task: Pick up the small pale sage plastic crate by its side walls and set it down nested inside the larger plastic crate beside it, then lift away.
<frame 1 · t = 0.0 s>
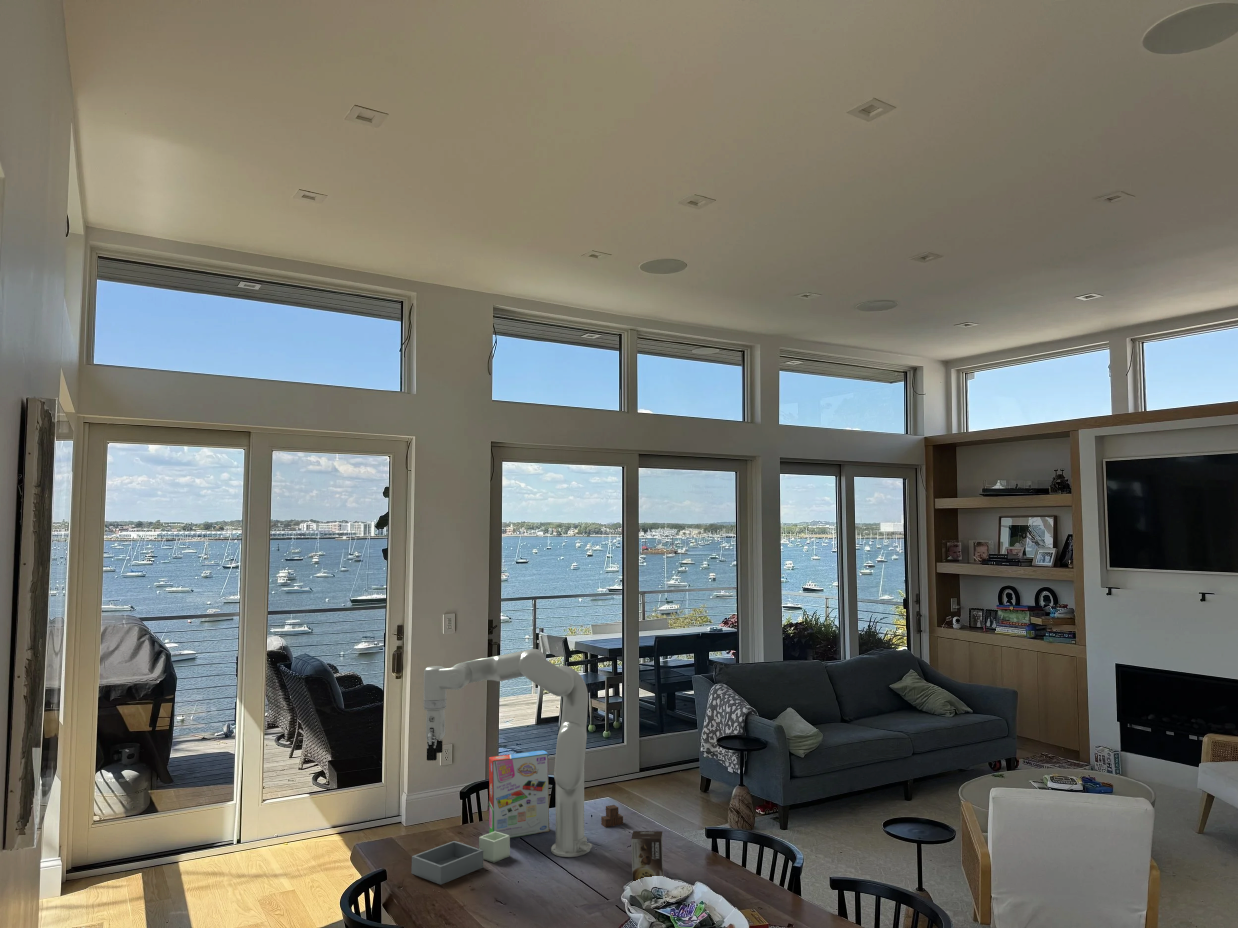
hand: (434, 756, 280), 31 cm above the table, tool pointing down, fingers open, 9 cm apart
big crate: (447, 871, 263), on the table
small crate: (494, 856, 274), on the table
coffee box: (648, 891, 246), on the table
stack of crates: (614, 827, 302), on the table
game box: (519, 834, 295), on the table
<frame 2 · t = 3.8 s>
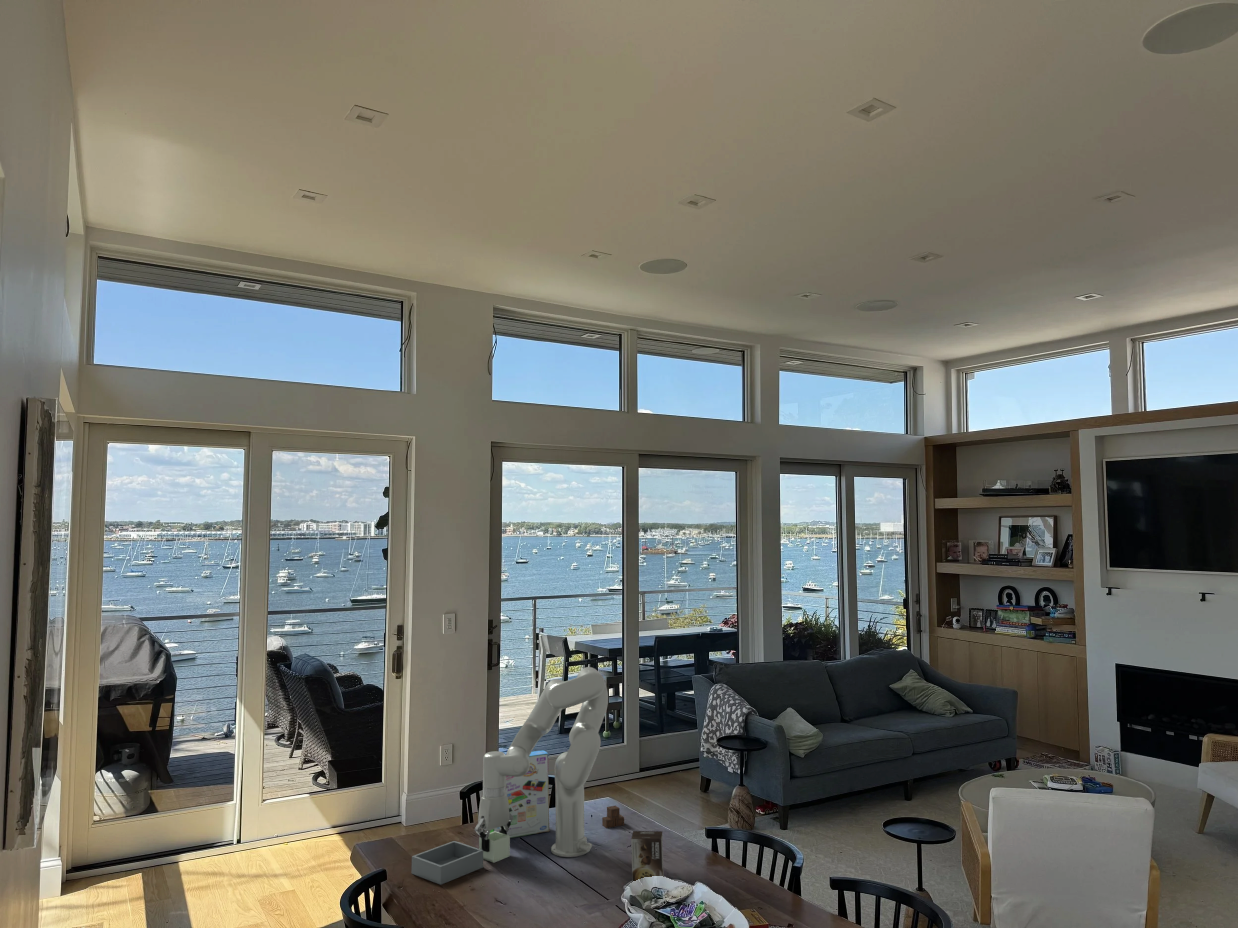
hand: (494, 846, 274), 3 cm above the table, tool pointing down, fingers closed on small crate, 7 cm apart
small crate: (494, 856, 274), on the table, touching gripper
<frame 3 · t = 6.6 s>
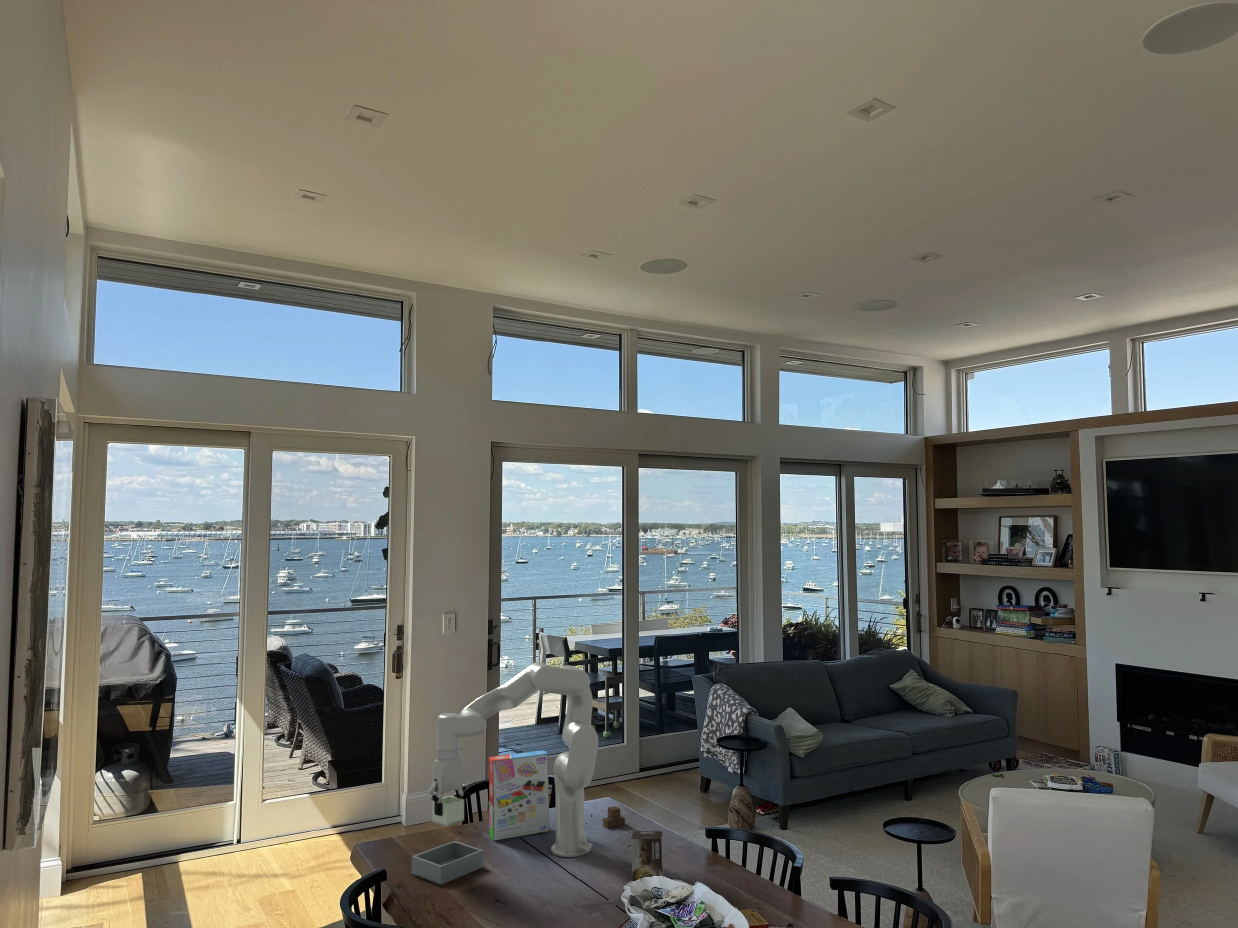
hand: (448, 811, 265), 18 cm above the table, tool pointing down, fingers closed on small crate, 7 cm apart
small crate: (448, 821, 265), point 15 cm above the table, touching gripper
when the fingers open (5 cm above the table, at t = 9.8 s): small crate drops 2 cm, resting on big crate.
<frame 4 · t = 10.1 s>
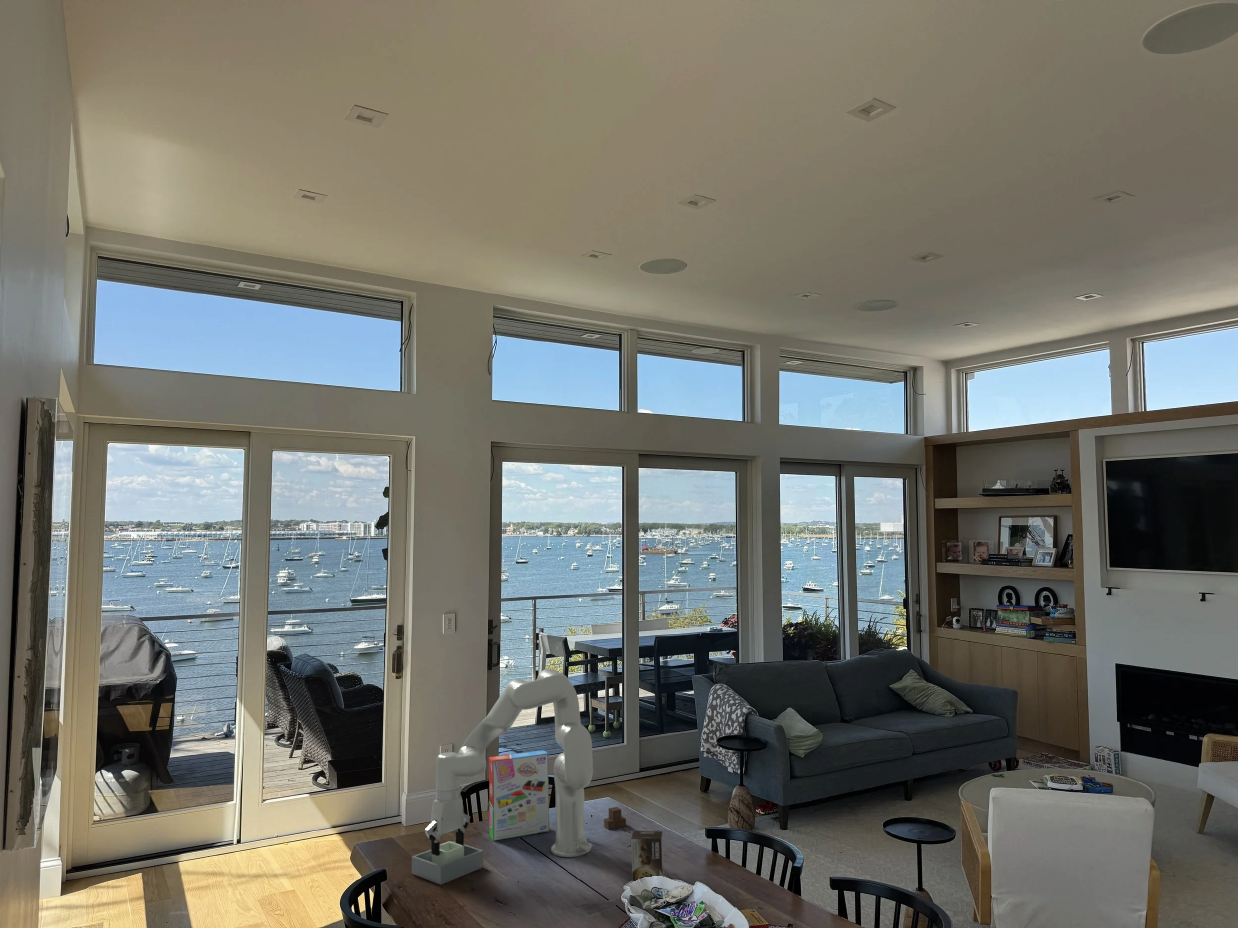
hand: (447, 849, 264), 6 cm above the table, tool pointing down, fingers open, 9 cm apart
big crate: (447, 871, 263), on the table, touching small crate
small crate: (447, 867, 263), point 1 cm above the table, touching big crate
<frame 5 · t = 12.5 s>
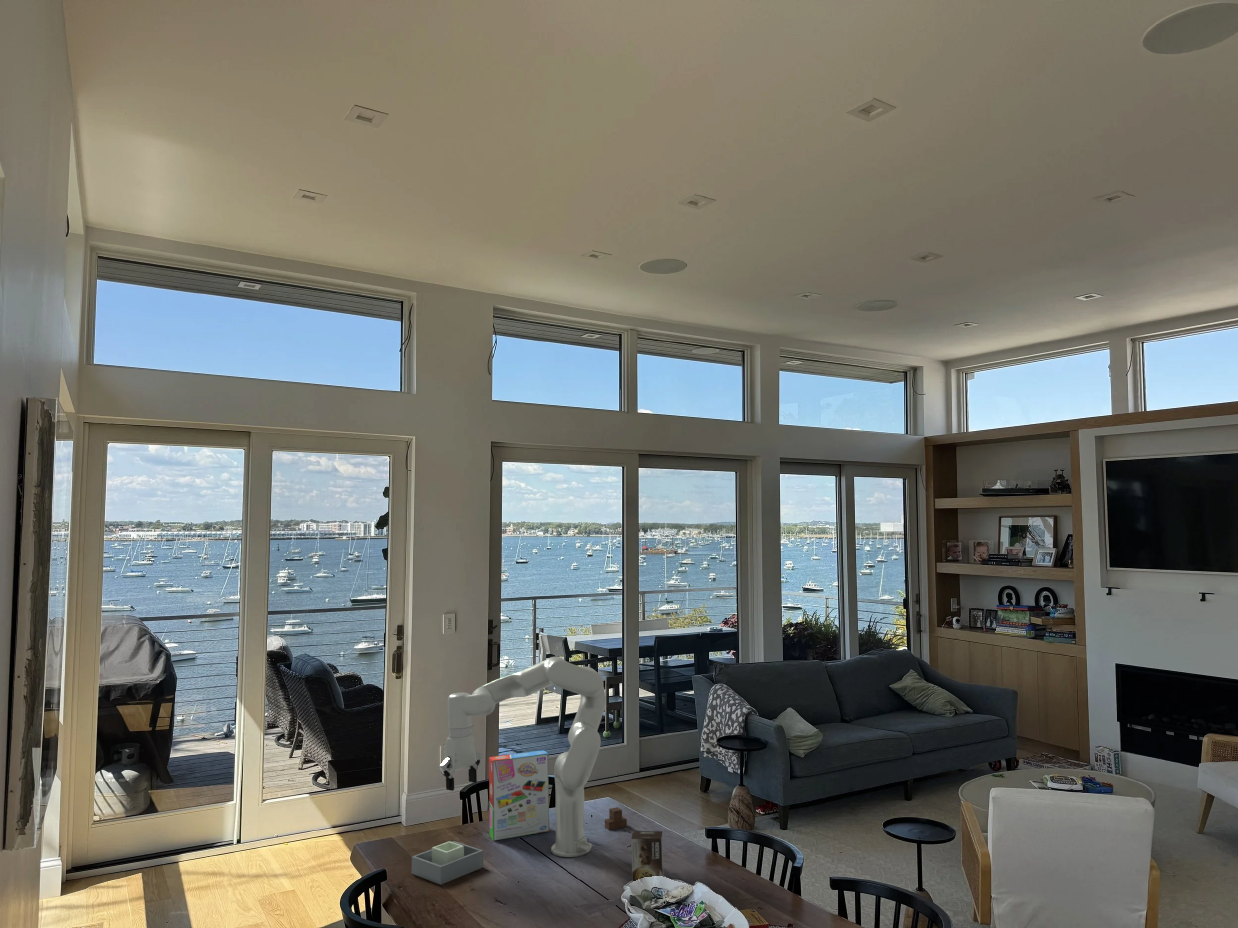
hand: (461, 785, 272), 24 cm above the table, tool pointing down, fingers open, 9 cm apart
big crate: (447, 871, 263), on the table
small crate: (447, 867, 263), point 1 cm above the table
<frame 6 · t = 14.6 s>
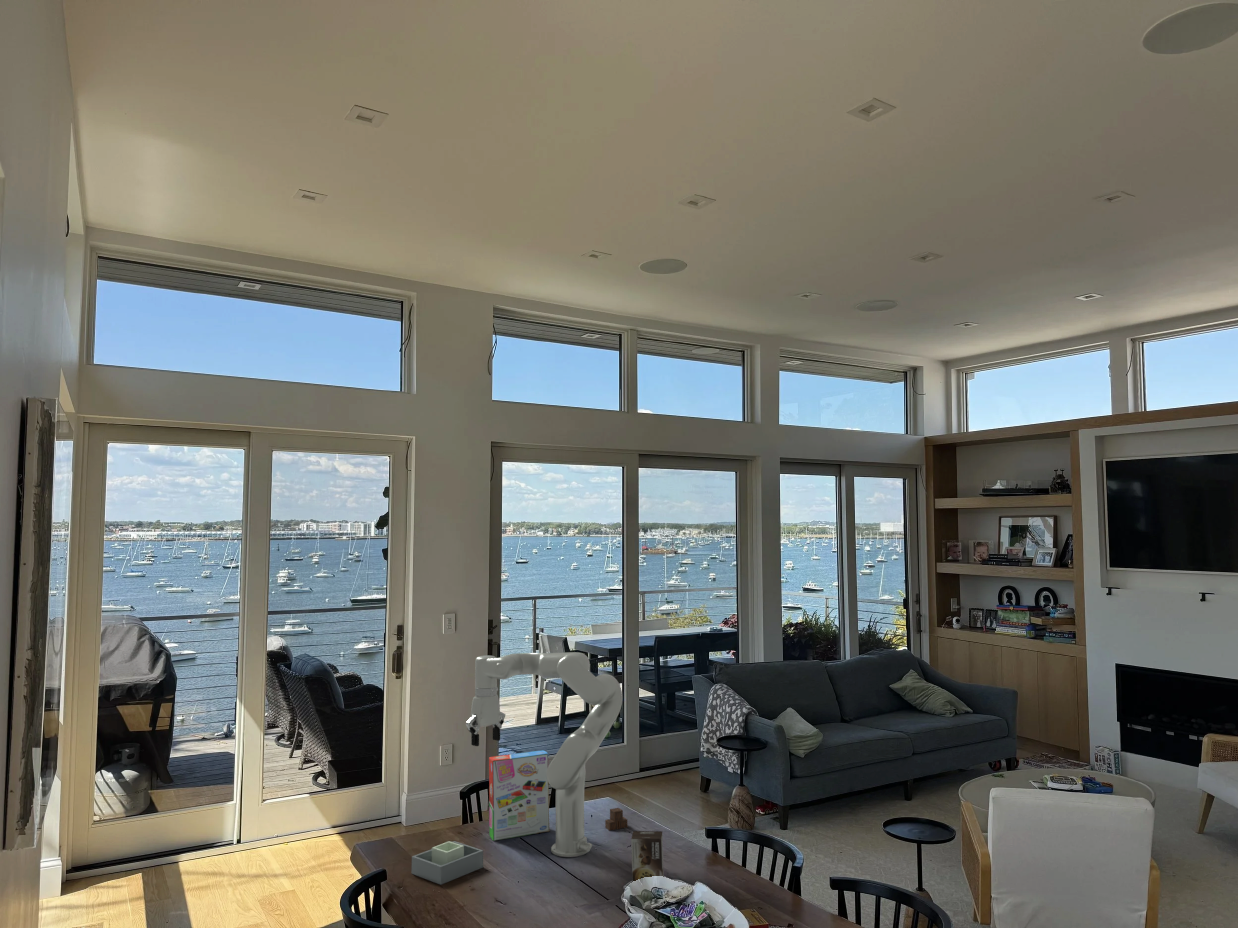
hand: (485, 742, 290), 33 cm above the table, tool pointing down, fingers open, 9 cm apart
big crate: (447, 871, 263), on the table, touching small crate
small crate: (447, 867, 263), point 1 cm above the table, touching big crate
at the end: small crate inside the target area on the big crate (0.1 cm from its centre), point 1.0 cm above the big crate's base; small crate tilted 0°; the gripper is holding nothing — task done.
